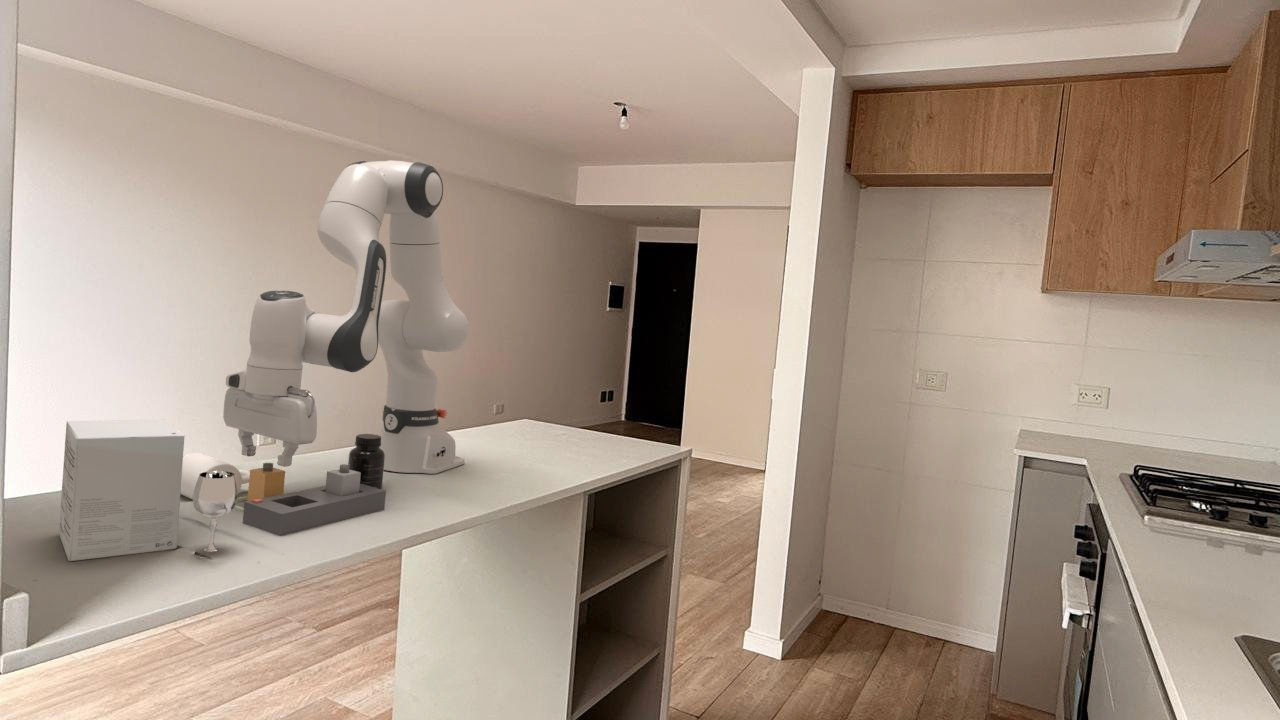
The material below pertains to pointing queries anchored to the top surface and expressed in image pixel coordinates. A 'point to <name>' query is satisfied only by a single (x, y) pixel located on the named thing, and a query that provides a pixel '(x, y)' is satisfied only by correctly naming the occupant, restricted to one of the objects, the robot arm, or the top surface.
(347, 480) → the gray knobbed block
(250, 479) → the plug
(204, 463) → the mug
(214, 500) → the wineglass
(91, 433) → the supplement box
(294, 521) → the strip
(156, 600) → the top surface
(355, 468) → the supplement bottle
